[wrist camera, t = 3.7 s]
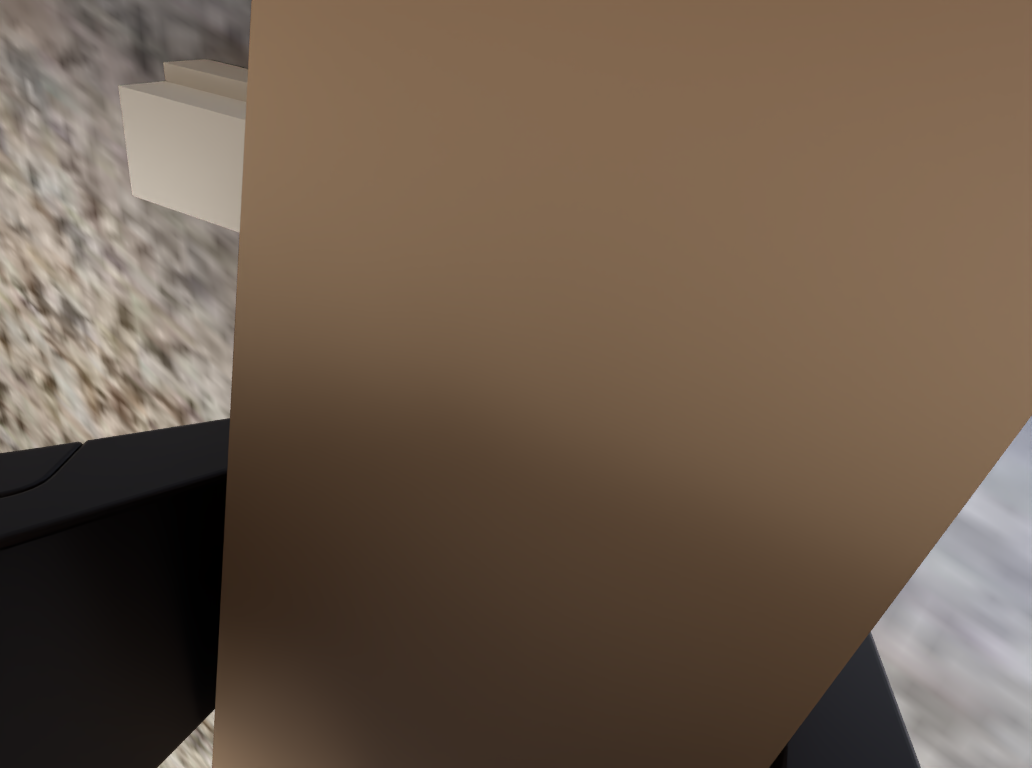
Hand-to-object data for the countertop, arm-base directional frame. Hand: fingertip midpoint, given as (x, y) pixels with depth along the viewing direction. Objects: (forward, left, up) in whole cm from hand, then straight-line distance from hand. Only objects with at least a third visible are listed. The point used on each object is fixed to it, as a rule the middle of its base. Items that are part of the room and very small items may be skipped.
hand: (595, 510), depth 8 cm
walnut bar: (0, 0, -1) cm, 1 cm away
